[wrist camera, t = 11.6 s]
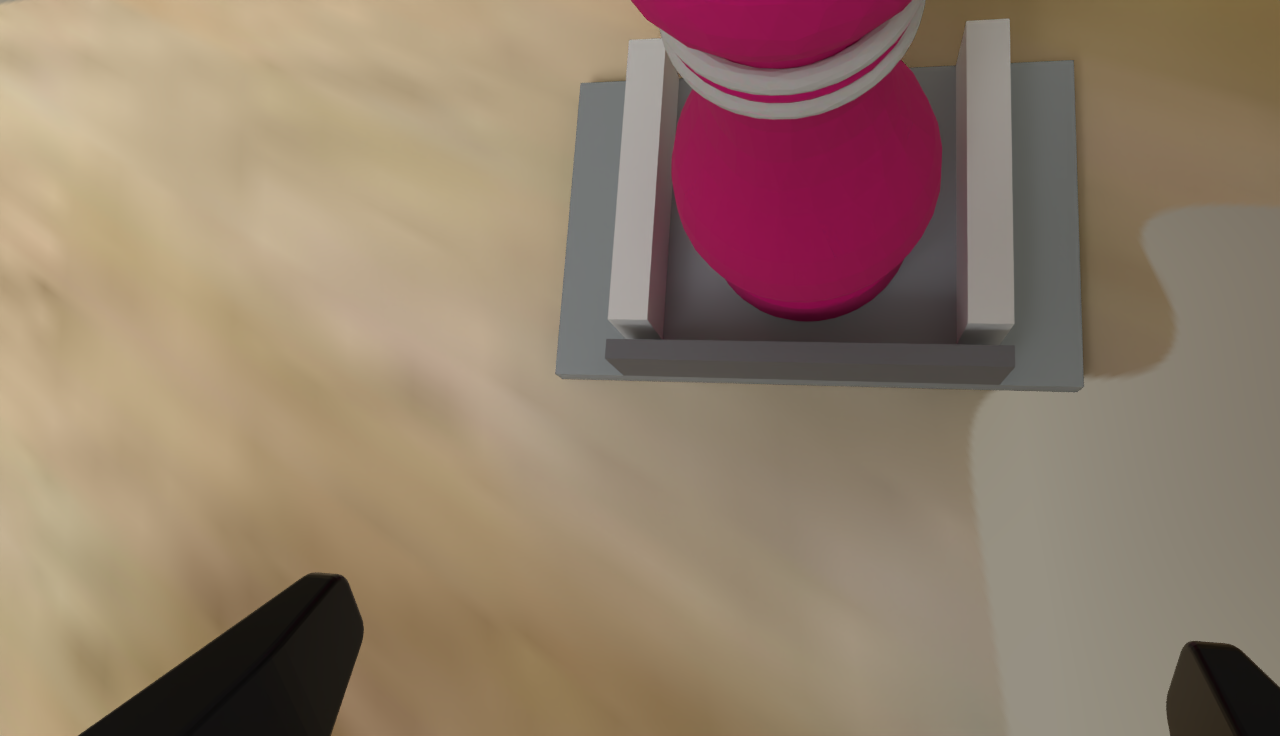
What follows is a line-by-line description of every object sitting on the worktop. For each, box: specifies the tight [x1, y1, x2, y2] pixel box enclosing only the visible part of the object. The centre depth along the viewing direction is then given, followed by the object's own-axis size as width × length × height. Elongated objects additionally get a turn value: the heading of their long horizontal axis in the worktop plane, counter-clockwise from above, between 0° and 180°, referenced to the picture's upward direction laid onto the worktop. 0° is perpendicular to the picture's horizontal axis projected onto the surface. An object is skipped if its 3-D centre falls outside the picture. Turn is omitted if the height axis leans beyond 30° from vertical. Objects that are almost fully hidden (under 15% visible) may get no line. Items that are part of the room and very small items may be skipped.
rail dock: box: [555, 19, 1084, 392], centre depth 28 cm, size 10×16×3 cm, turn 86°
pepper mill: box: [631, 0, 942, 322], centre depth 20 cm, size 7×7×20 cm
